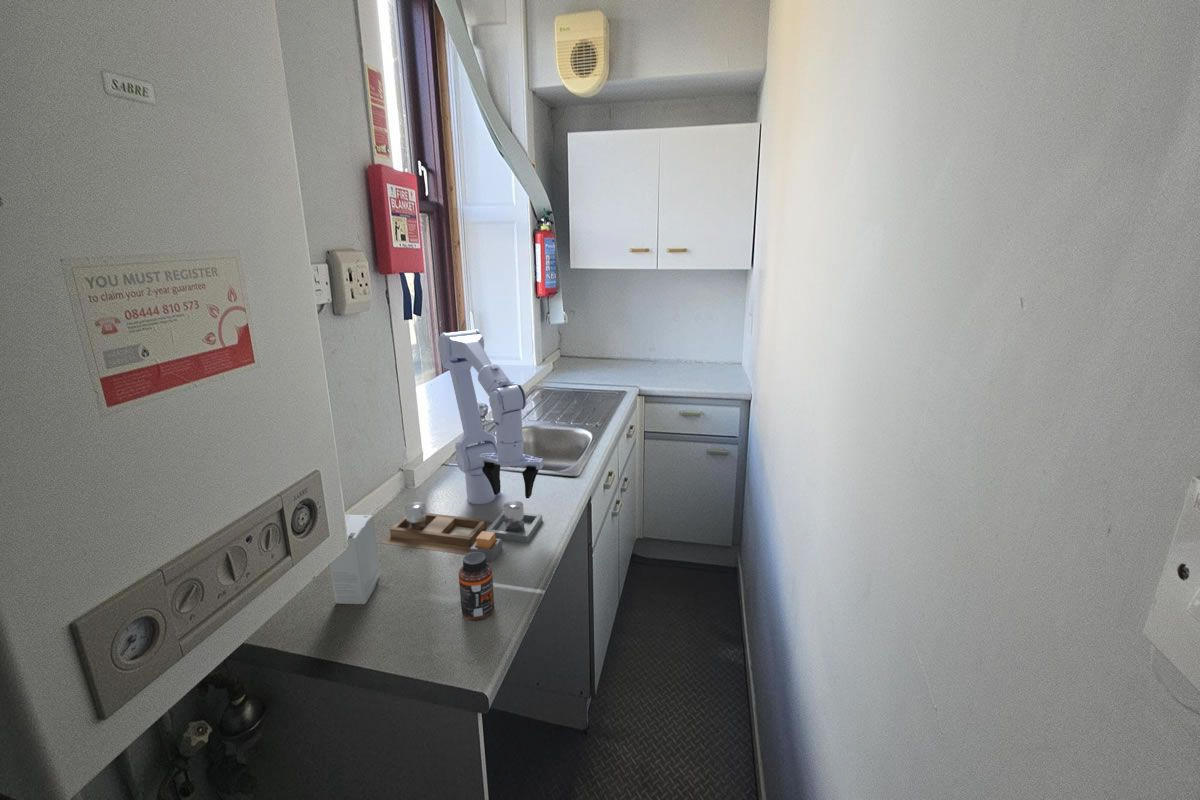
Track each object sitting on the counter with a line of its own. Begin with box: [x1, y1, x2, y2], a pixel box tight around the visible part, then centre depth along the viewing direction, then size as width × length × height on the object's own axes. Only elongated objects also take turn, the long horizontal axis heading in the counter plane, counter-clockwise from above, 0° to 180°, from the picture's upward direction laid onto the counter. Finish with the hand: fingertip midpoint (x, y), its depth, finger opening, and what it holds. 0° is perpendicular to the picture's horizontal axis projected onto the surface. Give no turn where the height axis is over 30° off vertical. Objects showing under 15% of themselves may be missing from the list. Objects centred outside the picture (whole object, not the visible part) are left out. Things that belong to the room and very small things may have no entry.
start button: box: [476, 531, 496, 549], centre depth 117 cm, size 3×3×3 cm
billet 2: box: [503, 500, 525, 533], centre depth 127 cm, size 4×4×6 cm
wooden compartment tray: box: [380, 512, 494, 556], centre depth 125 cm, size 14×21×3 cm, turn 77°
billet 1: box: [404, 501, 427, 530], centre depth 126 cm, size 4×4×6 cm
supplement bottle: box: [458, 552, 495, 621], centre depth 99 cm, size 6×6×11 cm
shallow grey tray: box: [486, 509, 543, 544], centre depth 128 cm, size 10×10×2 cm
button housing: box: [470, 537, 503, 563], centre depth 118 cm, size 5×5×3 cm
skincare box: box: [328, 514, 381, 605], centre depth 104 cm, size 8×6×15 cm
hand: (512, 494), depth 125 cm, fingers open, 7 cm apart
